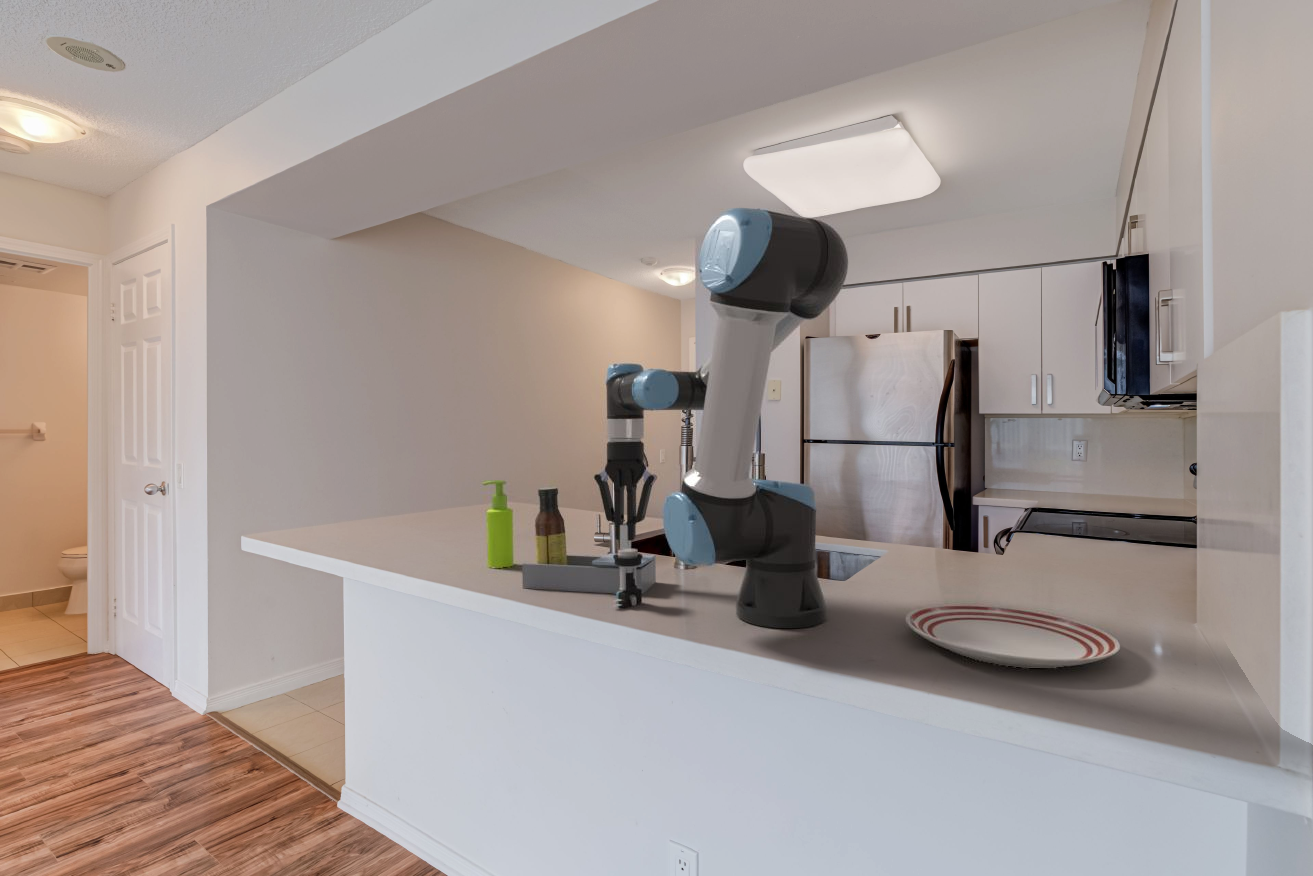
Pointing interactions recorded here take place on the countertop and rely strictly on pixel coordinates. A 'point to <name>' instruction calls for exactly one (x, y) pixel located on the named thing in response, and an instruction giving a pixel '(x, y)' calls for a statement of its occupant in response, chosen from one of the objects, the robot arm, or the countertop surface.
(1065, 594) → the countertop surface
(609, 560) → the lid
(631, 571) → the push button
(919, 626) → the dinner plate
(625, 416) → the robot arm
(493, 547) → the soap dispenser
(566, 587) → the grey shallow tray
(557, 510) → the sauce bottle
